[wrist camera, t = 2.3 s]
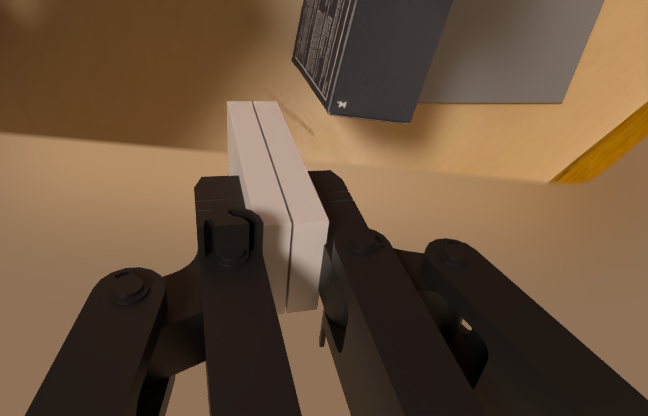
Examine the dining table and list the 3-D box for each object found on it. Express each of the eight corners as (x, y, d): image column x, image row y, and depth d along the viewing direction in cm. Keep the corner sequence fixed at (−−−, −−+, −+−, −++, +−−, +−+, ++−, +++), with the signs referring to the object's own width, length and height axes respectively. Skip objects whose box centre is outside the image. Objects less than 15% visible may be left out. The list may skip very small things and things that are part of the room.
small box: (363, 75, 40) (413, 129, 31) (289, 63, 37) (322, 118, 29) (404, -66, 34) (477, -44, 26) (319, -90, 32) (370, -74, 24)
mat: (381, 101, 41) (382, 103, 41) (421, -118, 32) (423, -118, 32) (559, 101, 46) (561, 102, 46) (637, -89, 37) (641, -89, 37)
